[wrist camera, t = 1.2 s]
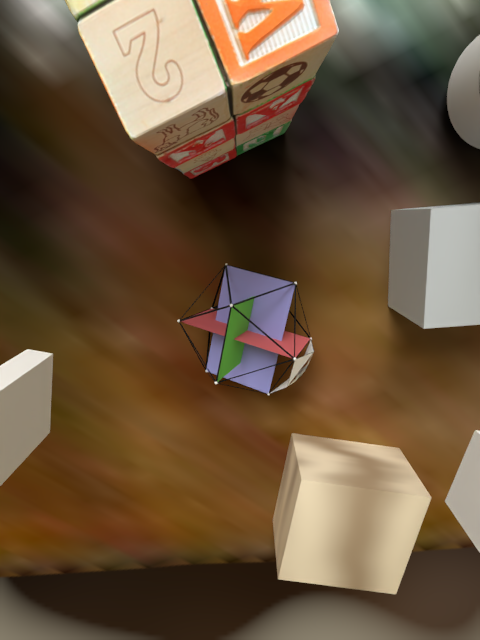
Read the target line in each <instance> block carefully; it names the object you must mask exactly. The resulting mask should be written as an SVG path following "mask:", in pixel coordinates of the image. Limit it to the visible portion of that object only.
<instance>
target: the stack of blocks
mask: <svg viewBox="0 0 480 640" xmlns="http://www.w3.org/2000/svg"><path fill="white" fill-rule="evenodd" d="M65 1H66V4H67V6H68V8H69V10H70V11H71V13H72V14H73V16H74V17H75V19H76V20H77V22H78V30H79V34H80V36H81V38H82V40H83V42H84V44H85V46H86V48H87V51H88V53H89V55H90V57H91V59H92V61H93V63H94V65H95V68H96V70H97V72H98V74H99V76H100V78H101V80H102V82H103V85H104V87H105V89H106V91H107V93H108V95H109V97H110V99H111V101H112V104H113V106H114V108H115V110H116V112H117V114H118V116H119V118H120V120H121V122H122V124H123V127H124V129H125V131H126V132H127V134H128V135H129V137H130V138H131V140H132V141H134V142H135V143H136V144H138V145H140V146H142V147H143V148H145V149H146V150H148V151H150V152H152V153H153V154H155V155H156V157H157V158H158V159H159V160H160V161H162V162H163V163H165V164H166V165H168V166H169V167H171V168H175V169H178V170H179V171H181V172H182V173H183V174H184V175H186V176H188V177H189V178H190V179H192V178H194V177H196V176H198V175H200V174H202V173H205V172H207V171H209V170H211V169H213V168H215V167H217V166H219V165H221V164H223V163H225V162H227V161H229V160H231V159H233V158H235V157H236V156H238V155H240V154H242V153H244V152H246V151H248V150H250V149H252V148H254V147H256V146H258V145H261V144H263V143H265V142H267V141H269V140H271V139H273V138H275V137H277V136H280V135H282V134H284V133H285V131H286V130H287V128H288V126H289V125H290V123H291V121H292V117H293V116H294V114H295V112H296V110H297V108H298V106H299V104H300V103H301V102H302V101H303V100H304V98H305V97H306V95H307V92H308V91H309V89H310V88H311V85H312V84H313V82H314V80H315V74H316V72H317V70H318V69H319V67H320V65H321V63H322V62H323V60H324V58H325V57H326V55H327V53H328V51H329V49H330V48H331V46H332V44H333V42H334V40H335V39H336V37H337V35H338V32H339V29H338V26H337V23H336V19H335V16H334V13H333V10H332V7H331V4H330V0H65Z"/></svg>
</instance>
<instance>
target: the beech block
mask: <svg viewBox="0 0 480 640" xmlns="http://www.w3.org/2000/svg"><path fill="white" fill-rule="evenodd" d="M430 500H431V496H430V494H429V493H428V491H427V490H426V488H425V487H424V485H423V484H422V482H421V481H420V479H419V478H418V476H417V475H416V473H415V472H414V470H413V469H412V467H411V465H410V464H409V462H408V461H407V459H406V458H405V456H404V455H403V453H402V452H401V450H400V449H399V448H395V447H387V446H380V445H373V444H366V443H359V442H351V441H344V440H337V439H330V438H323V437H315V436H308V435H301V434H294V433H292V434H291V439H290V444H289V448H288V453H287V457H286V462H285V467H284V471H283V476H282V480H281V485H280V490H279V494H278V499H277V503H276V508H275V513H274V517H273V529H274V540H275V551H276V563H277V574H278V579H280V580H288V581H295V582H304V583H311V584H319V585H327V586H334V587H342V588H350V589H358V590H366V591H374V592H382V593H389V594H396V593H397V590H398V587H399V585H400V582H401V579H402V577H403V574H404V571H405V568H406V565H407V563H408V560H409V557H410V555H411V552H412V549H413V546H414V544H415V541H416V538H417V536H418V533H419V530H420V527H421V525H422V522H423V519H424V516H425V514H426V511H427V508H428V505H429V503H430Z"/></svg>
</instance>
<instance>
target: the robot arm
mask: <svg viewBox="0 0 480 640" xmlns="http://www.w3.org/2000/svg"><path fill="white" fill-rule="evenodd" d="M52 367H53V354H51V353H46V352H40V351H35V350H29V349H27V350H25V351H24V352H22V353H20V354H19V355H17V356H16V357H14V358H12V359H11V360H9V361H7V362H6V363H4V364H2V365H1V366H0V486H1V485H2V484H3V483H4V482H5V480H6V479H7V478H8V477H9V476H10V475H11V474H12V473H13V472H14V471H15V470H16V468H17V467H18V466H19V465H20V464H21V463H22V462H23V461H24V460H25V459H26V458H27V457H28V455H29V454H30V453H31V452H32V451H33V450H34V449H35V448H36V447H37V446H38V445H39V444H40V442H41V441H42V440H43V439H44V438H45V437H46V436H47V435H48V434H49V433H50V416H51V392H52ZM445 502H446V504H447V505H448V507H449V508H450V510H451V511H452V513H453V514H454V516H455V517H456V519H457V520H458V521H459V523H460V524H461V526H462V527H463V529H464V530H465V532H466V533H467V535H468V536H469V538H470V539H471V541H472V542H473V544H474V545H475V546H476V548H477V549H478V551H479V552H480V431H478V430H475V431H474V434H473V436H472V438H471V441H470V443H469V446H468V448H467V450H466V453H465V455H464V457H463V460H462V462H461V464H460V467H459V469H458V472H457V474H456V476H455V479H454V481H453V483H452V486H451V488H450V490H449V493H448V495H447V498H446V500H445Z"/></svg>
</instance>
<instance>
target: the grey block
mask: <svg viewBox="0 0 480 640" xmlns="http://www.w3.org/2000/svg"><path fill="white" fill-rule="evenodd" d="M388 306H389V307H390V308H392V309H393V310H395V311H397V312H398V313H400V314H401V315H403V316H404V317H406V318H408V319H409V320H411V321H412V322H414V323H415V324H417V325H418V326H420V327H422V328H423V329H427V328H441V327H454V326H468V325H480V202H479V203H468V204H456V205H444V206H433V207H421V208H410V209H398V210H391V230H390V261H389V292H388Z"/></svg>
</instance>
